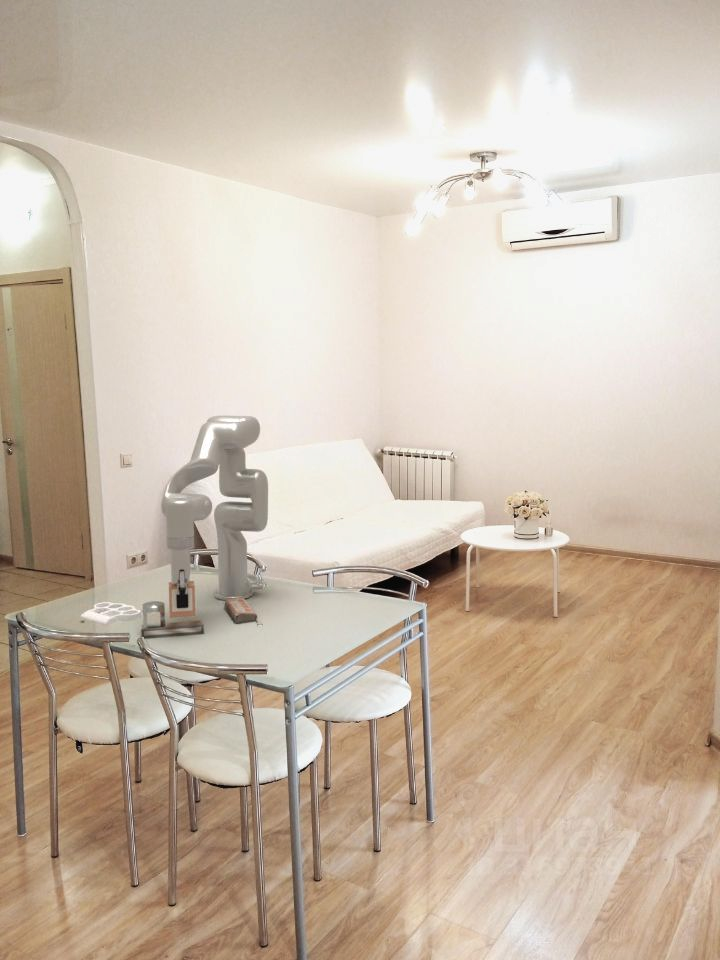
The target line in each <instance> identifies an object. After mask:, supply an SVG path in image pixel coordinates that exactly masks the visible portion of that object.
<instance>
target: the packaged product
mask: <svg viewBox="0 0 720 960" xmlns="http://www.w3.org/2000/svg"><path fill="white" fill-rule="evenodd" d="M223 610H224V611H225V613H226V614H227V615H228V616H229V618H230V620H231V621H233V624H235V625H238V624H243V623H244V624H245V623H249V622H255V623H256V626H257V627H258V625H263V622H262V621H261V620H260V619H259V617H258V615H257V612H255V610H254V609H253V607H252V606H251V605H250V603H248V600H246V599H242V598H237V599H228V600H224V604H223Z"/></svg>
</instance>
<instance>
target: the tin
mask: <svg viewBox="0 0 720 960" xmlns="http://www.w3.org/2000/svg"><path fill="white" fill-rule="evenodd" d="M165 611H166V609H165V602H164V601H159V600H158V601H157V600H154V601H153V600H151V601H146V602H144V603H143V604H142V623H143V624H142V625H143V629H146V628H159V627H165V623H166V613H165Z"/></svg>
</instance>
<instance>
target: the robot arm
mask: <svg viewBox="0 0 720 960" xmlns="http://www.w3.org/2000/svg"><path fill="white" fill-rule="evenodd" d="M260 434H261V424H260V423H259V420H258V419H257V418H256V417H254V416H249V415H215V416H210V417H209V418H207V421H206V422H205V423H203V424H202V425H201V427H200V429H199V431H198V435H197V438H196V442H195V445H194V448H193V450H192V453H191V457H190V460H189V462H187V463H186V464H184V465H183V466H181V468H179V469H178V470H177V471H176V472H175V473H174V474H172V476H171V477H170V479H169V480H168V482H167V484H166V486H165V490H164V492H163V495H162V500H161V504H160V505H161V506H160V507H161V512H162V514H163V516H164V517H165V518H166V519H165V521H166V523H165V524H166V526H165V527H166V548H167V550H170V577H171V581H170V582H172V584H173V585H174V584H175V583H177V594H176V599H177V608H188V594H187V584H188V583H189V581H191V580H190V577H191V576H190V575H191V549H194V548H195V525H194V524H195V522H197V521H203V520H206V519H207V518H208V517H209V516H210V515H211V514H212V511H213V503H212V501H211V499H210V497H208V496H207V495H205V494H201V493H199V494H198V493H185V492H184V493H182V491H183V490H184V489H186V487H188V486H189V485H192V484H194V483H195V482H198V481H200V480H203V479H206V478H208V477H211V476H212V475H215V474H216V473H217V471H218V478H219V479H218V483H219V484H218V487H219V492H220V494H221V495H222V496H223V497H227V498H237V499H239V498H241V499H250V500H251V502H248V501H223V502H220V503H218V504H217V505H216V506H215V508H214V511H213V519H214V524H215V528H216V537H217V561H218V562H217V564H218V565H217V566H218V567H217V568H218V589H217V590H215V591H214V593H213V595H214V597H215V598H216V599H218V600H222V601H225V600H228V599H237V598H242V599H245V598H246V599H248V597H249V598H251V597H252V596H253V590H262V589H263V584H262V583H258V582H249V579H248V543H247V539H246V538H245V536H244V534H243V533H242V532H250V533H251V532H253V533H258V532H262V531H264V530H265V529H266V527H267V525H268V517H269V516H268V515H269V480H268V477H267V474H266V473H265V472H264V471H263V470H261V469H257V468H247V467H246V451H245V450H244V449H246V448H248V446H250V445H253V444H255V443H256V441H257V440H258V439H259V437H260ZM184 581H185V582H186V583H185V582H184ZM178 582H180V583H178ZM179 586H180V587H179ZM250 596H251V597H250ZM246 599H245V600H246Z"/></svg>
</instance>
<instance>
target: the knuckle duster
mask: <svg viewBox="0 0 720 960" xmlns="http://www.w3.org/2000/svg"><path fill="white" fill-rule="evenodd" d="M141 617H142V611H141V610H140V609H136V607H135V606H133V605H128V604H125V603H121V602H120V603H119V602H118V603H115V602H114V603H113V602H111V601H104V602H98V603H95V604H94V605H93V608H92V609H88V610H86V611H85V612H83V613H81V615H80V620H81V621H83V622H85V621H86V620H87V621H91V622H94V623H97V624H101V625H104V626H107V625H110V624H113V623H116V622H119V621H127V622H129V621H135V620H139V619H140V618H141Z"/></svg>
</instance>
